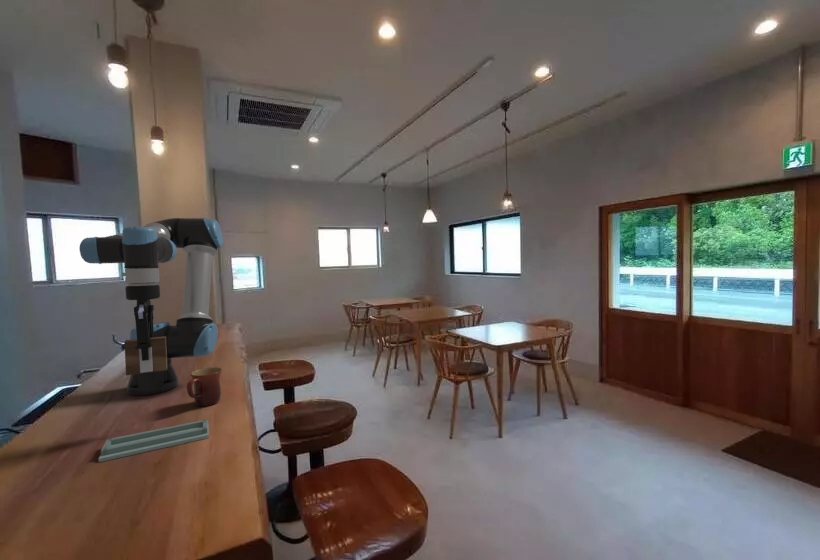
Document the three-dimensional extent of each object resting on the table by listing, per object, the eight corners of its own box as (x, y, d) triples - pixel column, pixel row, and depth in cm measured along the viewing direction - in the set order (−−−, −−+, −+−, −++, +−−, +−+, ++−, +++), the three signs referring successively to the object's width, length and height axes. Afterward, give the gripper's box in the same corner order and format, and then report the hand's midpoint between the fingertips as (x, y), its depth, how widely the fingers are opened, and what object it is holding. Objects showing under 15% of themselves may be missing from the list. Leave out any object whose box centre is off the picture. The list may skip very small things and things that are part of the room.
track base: (107, 444, 92) (107, 437, 92) (208, 424, 102) (208, 417, 102) (98, 462, 84) (98, 453, 84) (208, 437, 95) (208, 430, 94)
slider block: (127, 372, 100) (126, 340, 99) (167, 367, 104) (166, 336, 104) (126, 375, 98) (124, 341, 97) (166, 370, 102) (165, 338, 101)
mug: (206, 396, 123) (204, 366, 122) (229, 398, 121) (228, 367, 121) (177, 411, 111) (175, 378, 111) (202, 413, 110) (200, 379, 109)
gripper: (131, 283, 105) (135, 365, 106) (119, 286, 91) (124, 380, 92) (162, 282, 108) (166, 361, 110) (155, 285, 95) (160, 375, 96)
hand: (147, 369), depth 101 cm, fingers closed on slider block, 3 cm apart
